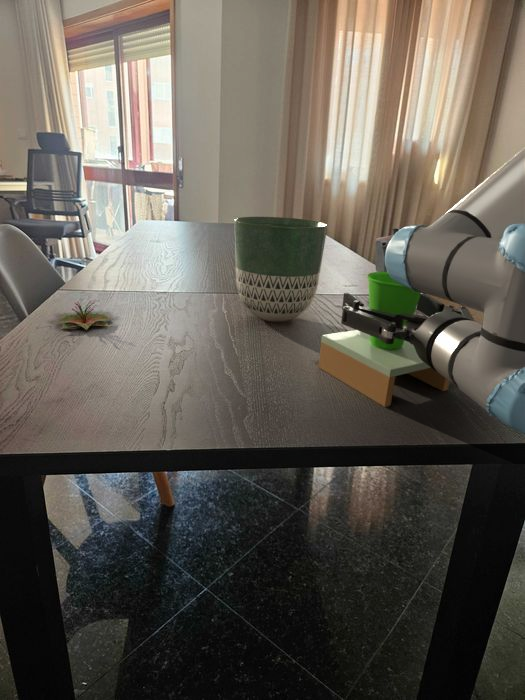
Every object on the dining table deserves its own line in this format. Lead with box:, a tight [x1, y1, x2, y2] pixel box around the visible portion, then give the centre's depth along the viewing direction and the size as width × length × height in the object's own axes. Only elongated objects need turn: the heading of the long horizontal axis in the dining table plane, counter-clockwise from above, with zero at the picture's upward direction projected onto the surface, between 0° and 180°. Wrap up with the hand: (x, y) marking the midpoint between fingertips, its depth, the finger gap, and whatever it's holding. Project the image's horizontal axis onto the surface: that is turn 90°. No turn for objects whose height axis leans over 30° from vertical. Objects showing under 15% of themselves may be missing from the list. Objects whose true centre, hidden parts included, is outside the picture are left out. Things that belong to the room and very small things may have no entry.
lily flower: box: [53, 300, 115, 331], centre depth 95 cm, size 12×12×5 cm
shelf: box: [318, 329, 451, 408], centre depth 77 cm, size 16×14×6 cm
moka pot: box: [375, 228, 400, 272], centre depth 118 cm, size 10×15×20 cm, turn 145°
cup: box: [366, 271, 422, 350], centre depth 74 cm, size 9×9×11 cm
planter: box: [234, 216, 328, 323], centre depth 103 cm, size 20×20×21 cm
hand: (382, 301), depth 77 cm, fingers open, 12 cm apart
